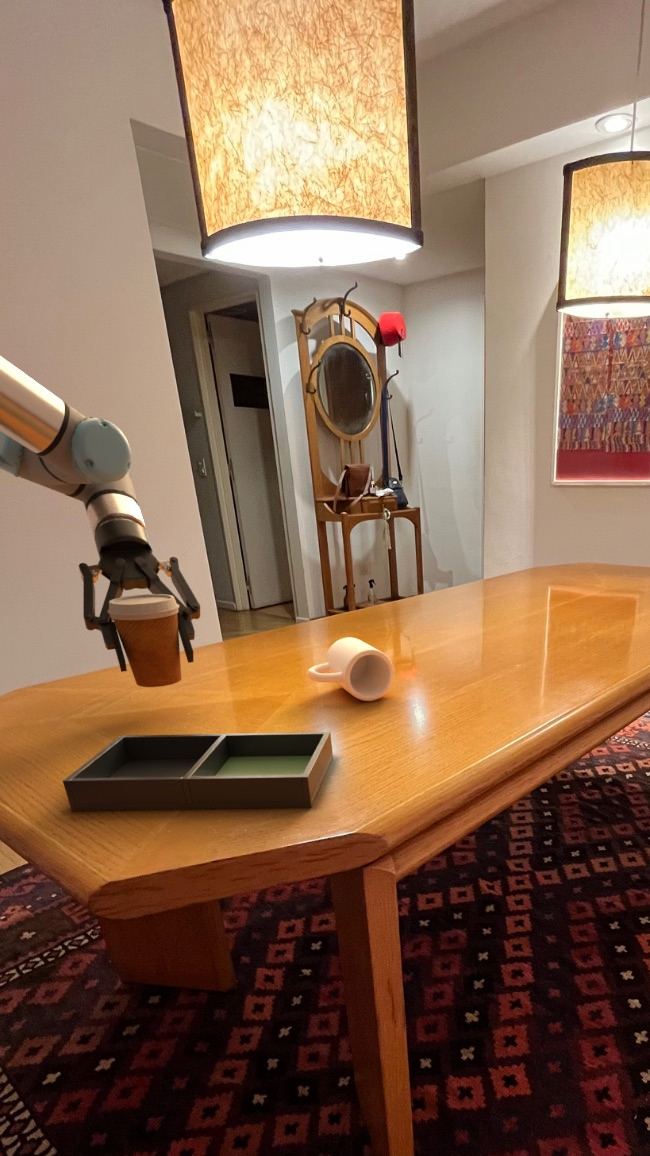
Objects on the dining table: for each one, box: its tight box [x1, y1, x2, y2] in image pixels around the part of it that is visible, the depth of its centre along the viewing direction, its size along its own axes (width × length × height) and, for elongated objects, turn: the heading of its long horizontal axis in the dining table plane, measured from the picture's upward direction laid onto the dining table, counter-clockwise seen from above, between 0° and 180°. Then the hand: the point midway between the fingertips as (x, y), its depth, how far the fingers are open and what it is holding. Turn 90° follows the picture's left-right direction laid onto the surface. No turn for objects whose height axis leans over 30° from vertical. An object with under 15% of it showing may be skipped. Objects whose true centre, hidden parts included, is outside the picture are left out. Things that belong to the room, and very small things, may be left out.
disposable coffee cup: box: [108, 593, 182, 688], centre depth 98 cm, size 10×10×12 cm
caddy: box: [62, 731, 334, 812], centre depth 77 cm, size 26×13×4 cm, turn 89°
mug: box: [307, 636, 395, 702], centre depth 106 cm, size 12×10×8 cm
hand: (157, 661), depth 96 cm, fingers closed on disposable coffee cup, 8 cm apart
